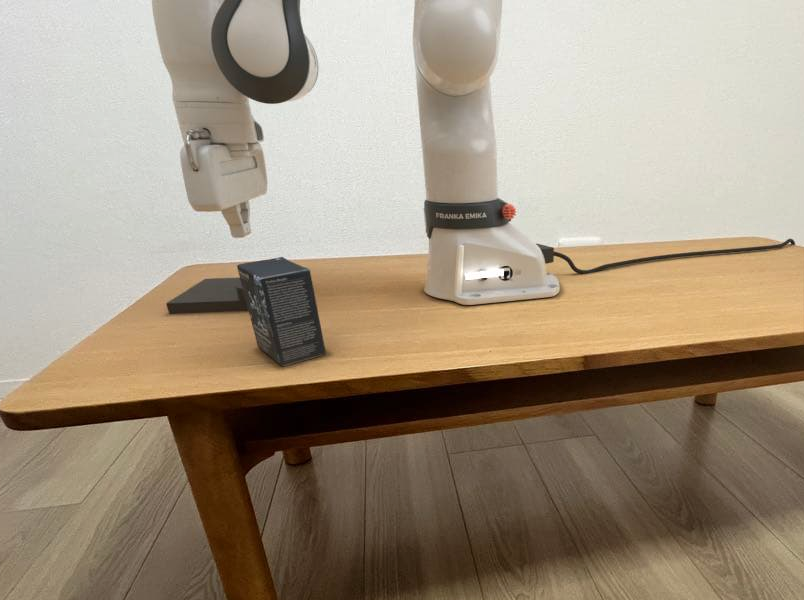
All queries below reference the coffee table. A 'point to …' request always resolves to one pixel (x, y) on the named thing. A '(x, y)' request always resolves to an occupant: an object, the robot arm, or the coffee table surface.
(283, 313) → the box
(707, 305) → the coffee table surface
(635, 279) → the coffee table surface
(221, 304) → the scale
